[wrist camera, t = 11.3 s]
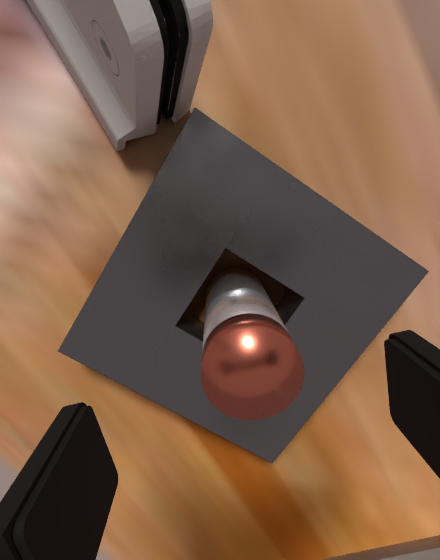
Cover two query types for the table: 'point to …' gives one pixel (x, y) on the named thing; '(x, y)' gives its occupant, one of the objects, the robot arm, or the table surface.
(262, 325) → the pin
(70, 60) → the grey curved electronic device
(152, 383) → the socket block
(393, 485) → the table surface
